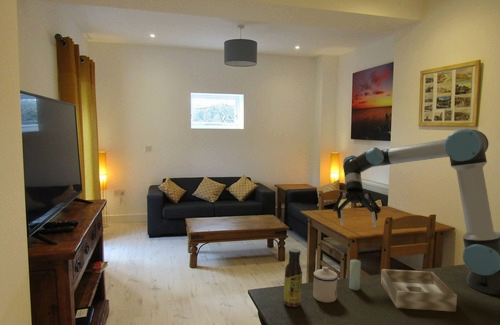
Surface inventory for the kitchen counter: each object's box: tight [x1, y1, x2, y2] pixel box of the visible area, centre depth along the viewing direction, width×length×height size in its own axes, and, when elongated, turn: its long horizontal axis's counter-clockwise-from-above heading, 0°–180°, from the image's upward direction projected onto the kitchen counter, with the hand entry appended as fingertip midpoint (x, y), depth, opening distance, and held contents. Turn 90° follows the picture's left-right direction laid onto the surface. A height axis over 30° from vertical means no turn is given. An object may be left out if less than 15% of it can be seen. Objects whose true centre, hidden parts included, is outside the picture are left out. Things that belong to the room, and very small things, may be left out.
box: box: [380, 268, 458, 312], centre depth 130 cm, size 20×20×6 cm
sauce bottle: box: [283, 248, 303, 308], centre depth 123 cm, size 6×6×20 cm
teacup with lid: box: [312, 266, 339, 304], centre depth 130 cm, size 12×9×12 cm
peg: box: [348, 259, 362, 291], centre depth 136 cm, size 4×4×11 cm
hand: (358, 225), depth 145 cm, fingers open, 13 cm apart
